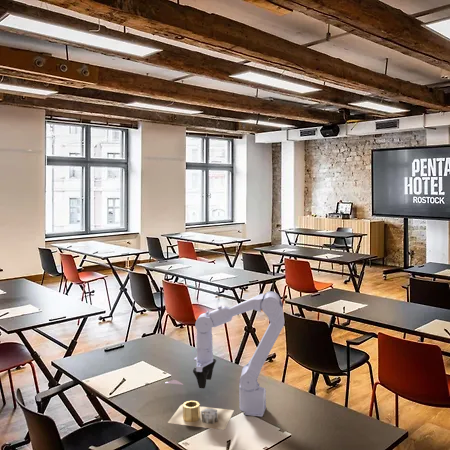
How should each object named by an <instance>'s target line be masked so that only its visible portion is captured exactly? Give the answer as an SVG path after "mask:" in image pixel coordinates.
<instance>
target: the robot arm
mask: <svg viewBox="0 0 450 450" xmlns="http://www.w3.org/2000/svg"><path fill="white" fill-rule="evenodd" d="M253 310H254V311H256V312H258V313H259V312H263V313H264V314H265V315H266V317H267V318H268V321H269V324H268V326H267V327H266V330H265V331H264V334H263V335H262V337H261V339H260V341H259V342H258V345H257V347H256V349H255V351H254V352H253V355H252V357H251V358H250V359H249V361H248V362H247V364H245V365H244V366H242V369H241V374H240V377H239V385H238V386H239V387H238V388H239V391H238V392H239V394H238V395H239V400H238V401H239V410H240V411H241V412H243V415H245V416H250V417H251V416H252V417H260V418H262V417H263V416H264V415H265V412H266V408H267V403H266V402H267V401H266V400H267V399H266V398H267V390H266V388H265V387H262V386H260V383H259V382H258V378H259V376H260V374H261V370H262V369H263V367H264V364H265V362H266V361H267V358H268V357H269V355H270V353H271V351H272V349H273V347H274V345H275V343H276V341H277V339H278V338H279V336H280V334H281V332H282V330H283V328H284V326H285V315H284V308H283V302H282V299H281V297H280V296H279V294H278V293H277V292H275V291H267V292H265V293H260V294H257V295H254V296H253V297H251V298H248V299H246V300H244V301H242V302H240V303H239V302H238V303H237V304H235V305H233V306H227V305H224V306H222V305H218V307H217V308H216V309H214V310H211V311H209V310H208V311H206V312H205V313H201V314H199V316H198V318H197V319H196V321H195V324H194V326H195V329H196V357H194V358H193V361H194V362H196V366H195V367H194V368H193V370H192V373H193V375H194V376H195V378H196V381H197V385H198V388H199V389H206V385H207V380H209V381H211V380H212V376H213V373H214V372H213V371H214V368H215V365H216V362H217V359H215V358H214V352H213V348H214V347H213V332H212V331H213V328H216V327H219V326H222V325H225V324H226V323H229V322H231V321H232V319H233V318H234V316H235V317H236V316H238V315H241V314H243V313H246V312H249V311H253Z"/></svg>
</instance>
